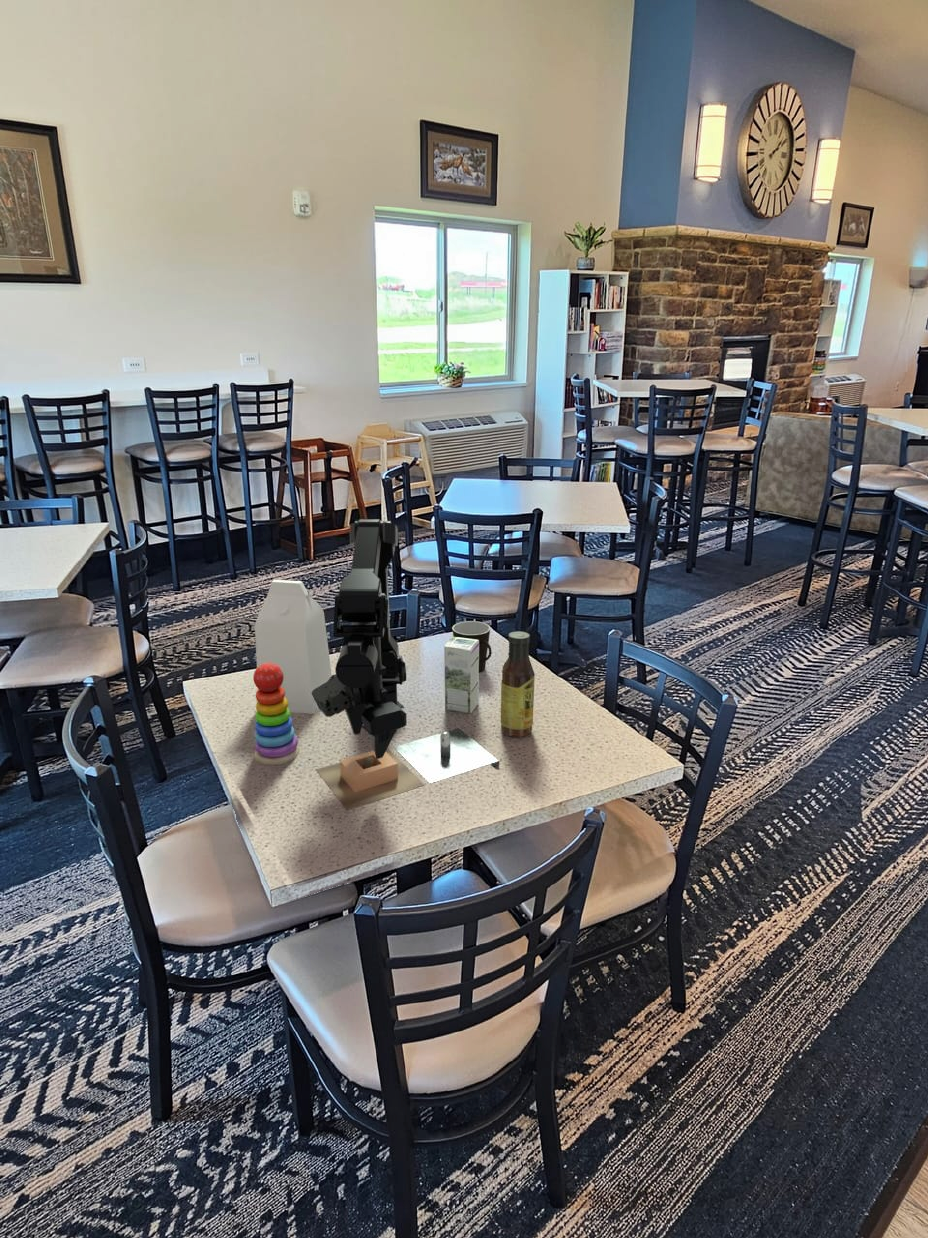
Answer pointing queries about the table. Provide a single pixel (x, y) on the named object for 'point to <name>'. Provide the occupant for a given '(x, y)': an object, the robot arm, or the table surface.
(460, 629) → the coffee mug
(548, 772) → the table surface
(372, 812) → the table surface
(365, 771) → the square tube wooden block
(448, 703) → the syrup box
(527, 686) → the sauce bottle
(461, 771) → the hub base
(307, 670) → the milk
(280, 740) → the stacking toy
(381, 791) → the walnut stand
